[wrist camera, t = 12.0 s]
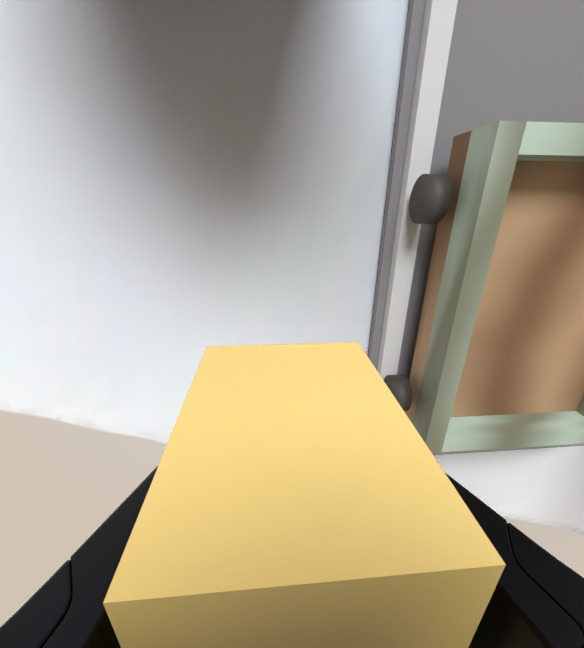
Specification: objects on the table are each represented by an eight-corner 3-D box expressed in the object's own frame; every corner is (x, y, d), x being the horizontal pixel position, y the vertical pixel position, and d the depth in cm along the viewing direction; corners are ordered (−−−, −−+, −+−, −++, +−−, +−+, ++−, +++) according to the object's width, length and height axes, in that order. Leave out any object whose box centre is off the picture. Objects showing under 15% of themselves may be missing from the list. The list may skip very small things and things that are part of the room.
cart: (702, 144, 14) (810, 130, 11) (582, 406, 20) (634, 440, 17) (418, 137, 13) (460, 119, 10) (378, 417, 19) (397, 454, 16)
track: (808, -158, 11) (913, -227, 10) (556, 424, 22) (583, 445, 20) (433, -203, 10) (469, -291, 8) (358, 436, 21) (367, 458, 19)
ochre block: (357, 342, 9) (505, 564, 3) (346, 454, 11) (433, 724, 5) (206, 346, 9) (103, 603, 3) (219, 462, 10) (167, 761, 5)
